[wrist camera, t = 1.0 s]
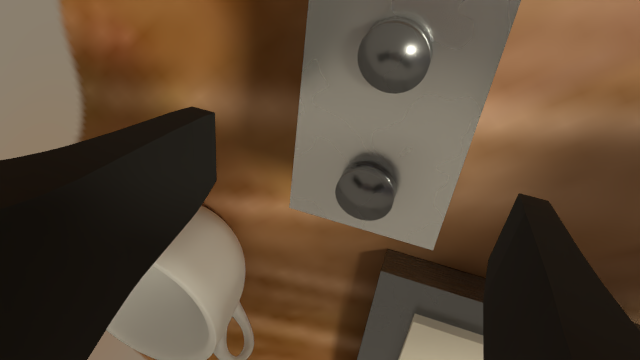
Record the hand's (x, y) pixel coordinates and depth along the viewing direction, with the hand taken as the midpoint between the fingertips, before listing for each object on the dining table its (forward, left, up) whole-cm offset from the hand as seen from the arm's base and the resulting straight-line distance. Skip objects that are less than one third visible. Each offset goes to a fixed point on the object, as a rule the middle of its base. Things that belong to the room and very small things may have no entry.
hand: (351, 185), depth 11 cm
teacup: (+8, +13, -8) cm, 17 cm away
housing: (0, 0, -8) cm, 8 cm away
